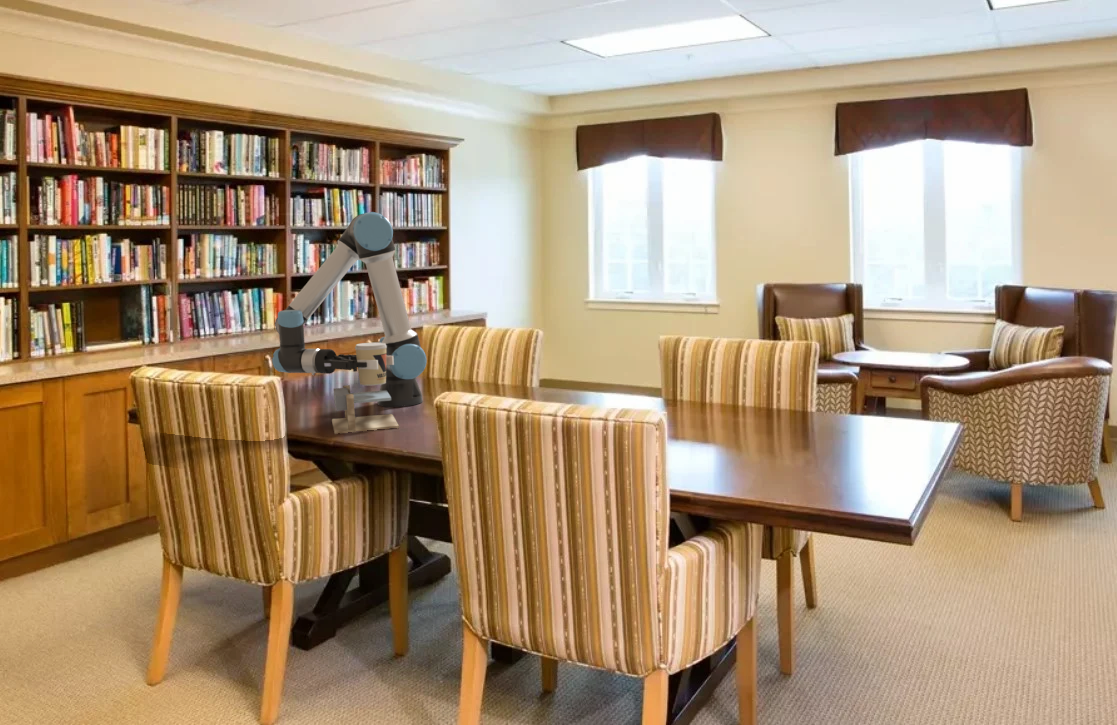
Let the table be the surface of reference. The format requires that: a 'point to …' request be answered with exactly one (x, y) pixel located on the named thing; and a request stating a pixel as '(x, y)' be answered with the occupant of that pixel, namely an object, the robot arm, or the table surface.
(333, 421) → the frame
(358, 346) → the coffee cup
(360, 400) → the trapdoor
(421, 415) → the table surface
